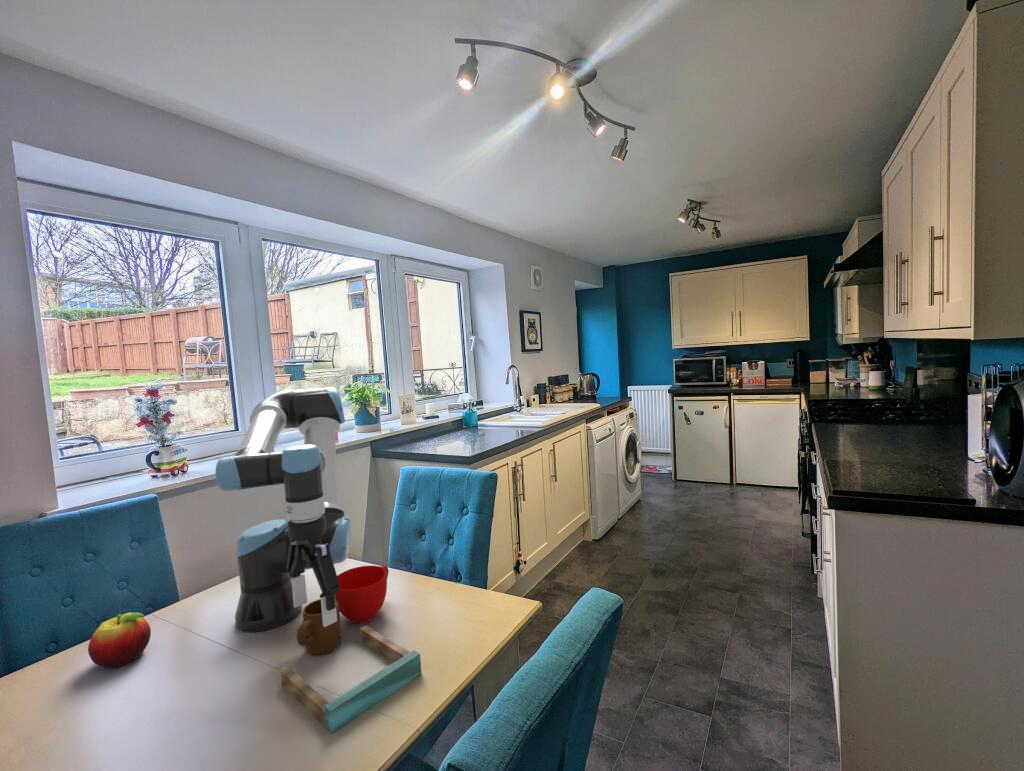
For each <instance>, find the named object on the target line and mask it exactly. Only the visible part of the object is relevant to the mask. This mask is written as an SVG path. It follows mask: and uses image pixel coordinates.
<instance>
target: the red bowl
mask: <svg viewBox="0 0 1024 771" xmlns="http://www.w3.org/2000/svg"><path fill="white" fill-rule="evenodd" d="M388 577H389V567H387V566H386V565H381V566H379V565H362V566H357V567H353V568H350V569H347V570H345V571H343V572H341V573H339V574H337V578H338V581H339V584H340V588H341V590H340V591H338V592H336V593H335V599H336V600H337V601H338V605H339V611H340V615H342V616H343V617H344V618H345V619H346V620H348V621H349V622H350V623H351V624H352V623H353V624H363V623H368V622H369V621H371V620H373V619H374V618H375V617H376V616H377V614H378V613H379V612H380V610H381V608H382V607H383V605H384V602H385V600H386V596H387V590H388Z"/></svg>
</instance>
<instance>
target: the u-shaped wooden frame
mask: <svg viewBox="0 0 1024 771" xmlns="http://www.w3.org/2000/svg"><path fill="white" fill-rule="evenodd" d="M359 631H360V632H359V633H360V642H361V643H363V644H365V645H366V646H367V647H369V648H370V649H372V650H373V651H375V652H376V653H378V654H380V655H381V656H383V657H384V658H386V659H388V660H389V661H390V662H392V663H391V664H389V665H388V666H386V667H384V668H383V669H381V670H379V671H378V672H377V673H374V674H373V675H371V677H368V678H367V679H365V680H364V681H362V682H360V683H358V684H357V685H356V686H354V687H353V688H350V690H347V691H345V692H344V693H343V694H341V695H340V696H338V697H336V698H335V699H333V700H331V701H330V702H329V701H327V699H325V698H324V697H323V696H322V695H321V694H320V693H318V691H316V690H315V689H314V688H313V687H312V686H311V685H310V684H309V683H308V682H306V681H305V680H304V679H303V678H302V677H301V676H300V675H299V674H298V673H296V672H295V670H293V669H292V668H291V667H290V666H286V667H284V668H281V669H280V680H281V681H280V682H281V686H282V687H283V688H285V689H286V690H287V691H288V693H290V694H291V695H292V696H293V697H294V699H295V700H297V701H298V703H300V704H301V705H302V706H303V707H304V708H305V709H306V710H307V711H308V712H309V713H310V714H311V715H312V716H313V717H314V718H315V719H316V720H317V721H318V722H319V723H320V724H321V725H322V726H324V728H325V729H326V730H327V731H328V732H329V733H330V734H333V733H335V732H336V731H338V730H340V729H341V728H342V727H344V726H345V725H347V724H348V723H351V721H353V720H355V719H356V718H358V717H359V716H360V715H362V714H363V713H365V712H366V711H368V710H369V709H370V708H372V707H373V706H375V705H376V704H378V703H380V702H381V701H382V700H384V699H385V698H387V697H388V696H390V695H391V694H392V693H394V692H395V691H397V690H399V689H400V688H401V687H403V686H404V685H406V684H408V683H409V682H410V681H412V680H414V678H416V677H418V676H419V675H420V674H422V664H421V663H422V662H421V654H420V652H418V651H416V650H415V649H414V650H412V651H409V650H407V649H405V648H404V647H402V646H401V645H399V644H397V643H396V642H394V641H393V640H392V639H389V638H387V637H385V636H384V635H383V634H381V633H379V632H378V631H376V630H374V629H373V628H372V627H369V626H368V625H364V626H362V627H360V628H359Z"/></svg>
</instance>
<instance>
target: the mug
mask: <svg viewBox="0 0 1024 771" xmlns="http://www.w3.org/2000/svg"><path fill="white" fill-rule="evenodd" d="M335 601H336V613H337V621H336V622H334V623H332V624H330V625H328V626H326V627H324V626H323V619H322V608H321V598H319V599H316V600H313V601H311V602H309V603H307V605H305V606H304V607H303V608H302V622H301V624H300V625H299V627H298V628H297V631H296V640H297V643H298V644H299V646H301V647H305V651H306V653H307V654H308V655H309V656H313V657H322V656H326V655H328V654H331V653H332V652H335V651H336V650H337V649H338V648H339V647H340V646H341V644H342V623H341V613H340V611H339V605H338V601H337V600H336V599H335Z"/></svg>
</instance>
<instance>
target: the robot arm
mask: <svg viewBox="0 0 1024 771" xmlns="http://www.w3.org/2000/svg"><path fill="white" fill-rule="evenodd" d="M342 402H343V401H342V398H341V395H340V391H339V389H338V388H336V387H324V386H322V387H320V388H318V387H317V388H306V389H305V388H304V389H303V388H301V389H288V390H282V391H279V392H278V391H277V392H276V393H274V394H272V395H269V396H268V397H266V398H265V399H263V400H261V401H260V402H259V403H258V404H257V405H256V406H255V407H254V409H252V410H251V411H252V412H251V413H250V416H249V424H250V425H249V426H248V429H247V431H246V433H245V435H244V436H243V439H242V441H241V443H240V444H239V447H238V449H237V451H236V452H235V455H230V456H226V457H222V458H219V460H218V461H217V463H216V466H215V481H216V485H217V487H218V489H219V490H221V491H224V492H226V491H227V492H229V491H241V490H247V489H256V488H263V487H271V486H279V485H280V486H281V485H284V497H285V498H284V499H285V508H283V509H284V512H286V519H287V520H286V519H283V518H281V519H273V520H272V519H271V520H267V521H264V522H261V523H259V524H255V525H253V526H251V527H250V528H247V529H245V530H244V531H243V532H241V533H240V534H239V535H238V536H237V538H236V553H235V555H236V558H237V568H238V576H239V586H240V594H239V599H238V603H237V608H236V611H235V615H234V616H235V617H234V619H235V627H236V629H237V630H239V631H240V632H246V633H254V632H257V633H258V632H264V631H267V630H271V629H274V628H277V627H279V626H282V625H284V624H286V623H288V622H290V621H292V620H293V619H294V618H295V617H297V616H298V615H299V614H300V612H301V611H302V610H303V605H305V604H308V597H307V584H306V574H304V573H306V570H311V569H312V571H313V574H314V576H315V578H316V580H317V583H318V586H319V588H320V591H321V593H320V595H319V599H321V608H322V619H323V626H324V627H326V626H328V625H330V624H332V623H334V622H336V621H337V613H336V601H335V593H336V592H338V591H340V590H341V588H340V584H339V581H338V578H337V576H338V574H337V572H336V568H335V565H337V564H341V563H344V562H345V561H346V560H347V558H348V556H349V550H350V543H351V541H350V540H351V517H349V516H347V515H345V511H344V509H342V508H341V507H340V506H339V492H338V491H339V490H338V470H337V449H336V447H337V445H336V444H337V443H336V434H337V432H339V431H340V428H341V425H343V424H344V423H345V422H346V419H345V414H344V408H343V403H342ZM296 428H297V429H298V431H299V433H300V434H301V435H303V440H304V441H303V444H299V445H292V446H288V447H285V448H284V449H283V450H282V451H281V450H280V451H275V452H274V449H275V447H276V443H277V441H278V438H279V435H280V433H282V432H283V431H284V430H286V429H287V430H288V429H296Z"/></svg>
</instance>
